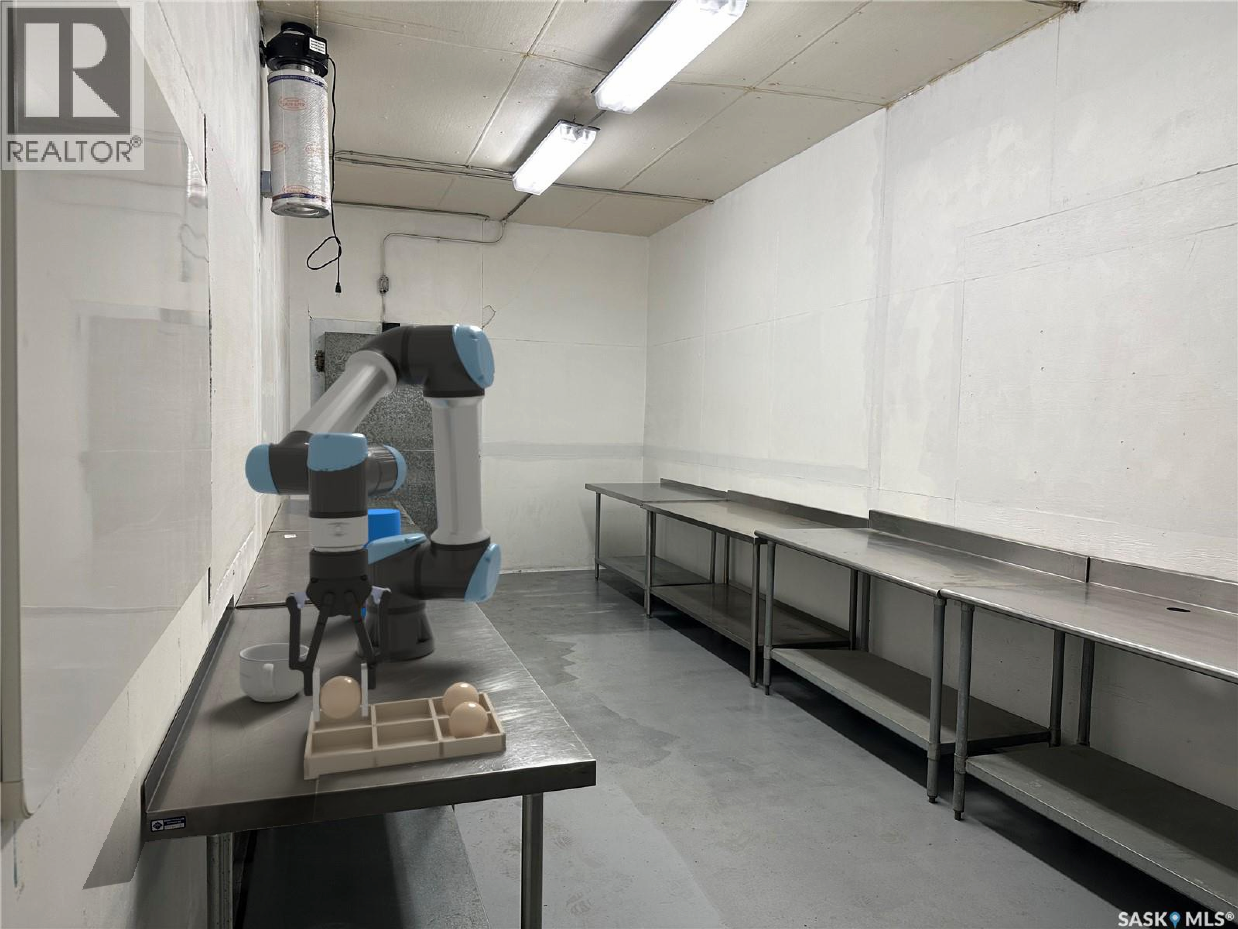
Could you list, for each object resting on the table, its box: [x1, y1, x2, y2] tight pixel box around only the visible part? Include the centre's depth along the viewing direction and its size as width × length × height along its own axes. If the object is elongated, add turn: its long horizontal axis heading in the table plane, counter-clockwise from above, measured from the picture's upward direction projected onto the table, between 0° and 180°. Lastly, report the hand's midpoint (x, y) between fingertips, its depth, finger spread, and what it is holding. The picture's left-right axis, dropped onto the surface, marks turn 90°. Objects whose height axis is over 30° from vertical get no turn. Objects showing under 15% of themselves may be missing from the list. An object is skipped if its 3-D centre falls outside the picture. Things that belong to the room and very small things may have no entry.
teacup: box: [238, 642, 309, 703], centre depth 129 cm, size 14×11×8 cm
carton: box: [303, 691, 507, 781], centre depth 113 cm, size 18×26×3 cm
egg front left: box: [449, 702, 488, 739], centre depth 112 cm, size 6×6×6 cm
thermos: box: [360, 508, 402, 620], centre depth 181 cm, size 11×11×25 cm
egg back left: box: [442, 681, 479, 716], centre depth 120 cm, size 6×6×6 cm
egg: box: [319, 675, 362, 719], centre depth 106 cm, size 6×6×6 cm
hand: (340, 715), depth 106 cm, fingers closed on egg, 5 cm apart
